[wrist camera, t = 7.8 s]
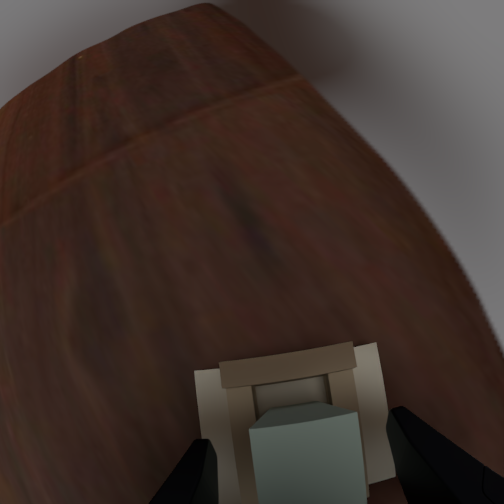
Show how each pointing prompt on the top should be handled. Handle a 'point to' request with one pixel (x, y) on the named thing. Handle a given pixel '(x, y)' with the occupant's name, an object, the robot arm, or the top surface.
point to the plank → (308, 455)
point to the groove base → (288, 393)
